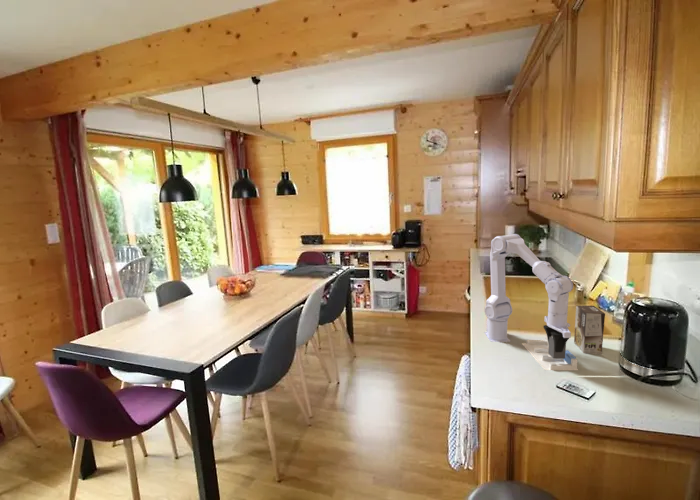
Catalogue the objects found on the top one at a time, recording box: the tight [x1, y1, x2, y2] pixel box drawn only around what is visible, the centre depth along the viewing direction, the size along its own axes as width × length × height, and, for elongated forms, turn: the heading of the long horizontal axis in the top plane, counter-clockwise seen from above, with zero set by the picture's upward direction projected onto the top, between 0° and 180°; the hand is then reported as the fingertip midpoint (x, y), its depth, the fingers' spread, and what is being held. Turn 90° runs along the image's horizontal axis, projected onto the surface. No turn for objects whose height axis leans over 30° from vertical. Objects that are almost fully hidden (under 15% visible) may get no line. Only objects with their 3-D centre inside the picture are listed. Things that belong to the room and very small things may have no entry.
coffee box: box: [573, 305, 606, 355], centre depth 135 cm, size 9×6×16 cm
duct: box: [521, 334, 579, 371], centre depth 132 cm, size 21×11×4 cm, turn 175°
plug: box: [548, 336, 567, 359], centre depth 124 cm, size 4×4×7 cm
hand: (555, 348), depth 125 cm, fingers closed on plug, 4 cm apart
